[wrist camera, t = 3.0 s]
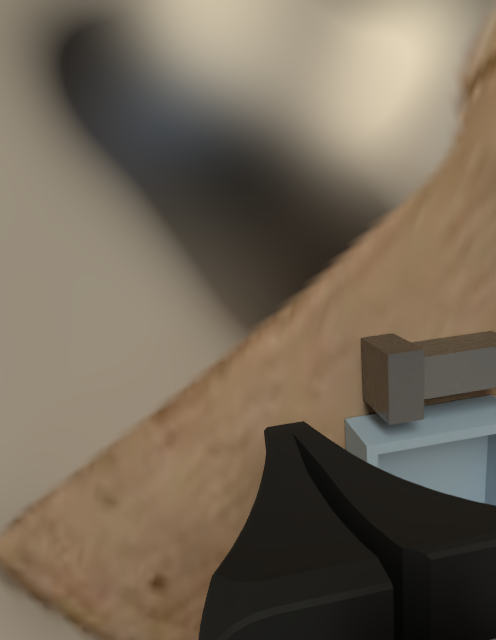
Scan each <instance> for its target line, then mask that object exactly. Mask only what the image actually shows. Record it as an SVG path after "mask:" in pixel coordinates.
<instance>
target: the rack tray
mask: <svg viewBox="0 0 496 640" xmlns="http://www.w3.org/2000/svg"><path fill="white" fill-rule="evenodd" d="M345 434H346V451H348V452H350V453H351V454H353V455H355V456H357V457H358V458H360V459H362V460H364V461H366V462H367V463H369V464H371V465H373V466H375V467H377V468H379V469H382V470H384V471H386V472H388V473H390V474H393V475H395V476H397V477H400V478H402V479H404V480H407V481H410V482H412V483H415V484H418V485H421V486H424V487H426V488H429V489H432V490H436V491H439V492H442V493H445V494H449V495H453V496H456V497H460V498H464V499H468V500H471V501H476V502H481V503H486V504H491V505H496V397H495V396H493V395H487V396H481V397H475V398H469V399H463V400H457V401H451V402H444V403H438V404H432V405H426V406H424V419H423V420H417V421H411V422H405V423H399V424H393V425H389V424H388V423H387V422H386V421H385V420H384V419H383V418H382V417H380V416H379V415H378V414H371V415H365V416H359V417H353V418H347V419H345Z"/></svg>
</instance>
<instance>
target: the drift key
mask: <svg viewBox="0 0 496 640" xmlns="http://www.w3.org/2000/svg"><path fill="white" fill-rule="evenodd" d="M361 352H362V380H363V400H364V401H365V402H366V403H367V404H368V405H369V406H370V407H371V408H372V409H373V410H374V411H375V412H376V413H377V414H378V415H379V416H380V417H382V418H383V419H384V420H385V421H386V422H387V423H388V424H389V425H393V424H399V423H405V422H411V421H417V420H423V419H424V399H430V398H436V397H442V396H448V395H455V394H461V393H467V392H473V391H479V390H485V389H492V388H496V333H495V332H492V331H488V332H482V333H475V334H468V335H461V336H454V337H447V338H440V339H433V340H426V341H420V342H413V343H411V342H409V341H407V340H405V339H403V338H401V337H399V336H397V335H395V334H386V335H379V336H372V337H365V338H361Z"/></svg>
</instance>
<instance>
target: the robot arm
mask: <svg viewBox="0 0 496 640" xmlns="http://www.w3.org/2000/svg"><path fill="white" fill-rule="evenodd" d="M264 436H265V445H266V459H265V466H264V471H263V476H262V480H261V484H260V487H259V491H258V494H257V497H256V500H255V503H254V505H253V507H252V510H251V512H250V515H249V517H248V519H247V521H246V523H245V525H244V527H243V529H242V531H241V533H240V535H239V536H238V538H237V540H236V542H235V543H234V545H233V547H232V549H231V550H230V552H229V553H228V555H227V556H226V557H225V559H224V560H223V562H222V563H221V564H220V566H219V567H218V569H217V570H216V571H215V573H214V574H213V575H212V578H211V582H210V585H209V589H208V593H207V597H206V601H205V605H204V610H203V614H202V620H201V625H200V632H199V640H496V505H491V504H486V503H481V502H476V501H471V500H468V499H464V498H460V497H456V496H453V495H449V494H445V493H442V492H439V491H436V490H432V489H429V488H426V487H424V486H421V485H418V484H415V483H412V482H410V481H407V480H404V479H402V478H400V477H397V476H395V475H393V474H390V473H388V472H386V471H384V470H382V469H379V468H377V467H375V466H373V465H371V464H369V463H367V462H366V461H364V460H362V459H360V458H358V457H357V456H355V455H353V454H351V453H350V452H348V451H346V450H345V449H343V448H342V447H340V446H338V445H337V444H335V443H334V442H332V441H331V440H329V439H328V438H326V437H325V436H324V435H322V434H321V433H319V432H318V431H317V430H315V429H314V428H312V427H311V426H309V425H308V424H307V423H305V422H304V421H302V422H296V423H290V424H284V425H278V426H272V427H267V428H266V429H265V430H264Z"/></svg>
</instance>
